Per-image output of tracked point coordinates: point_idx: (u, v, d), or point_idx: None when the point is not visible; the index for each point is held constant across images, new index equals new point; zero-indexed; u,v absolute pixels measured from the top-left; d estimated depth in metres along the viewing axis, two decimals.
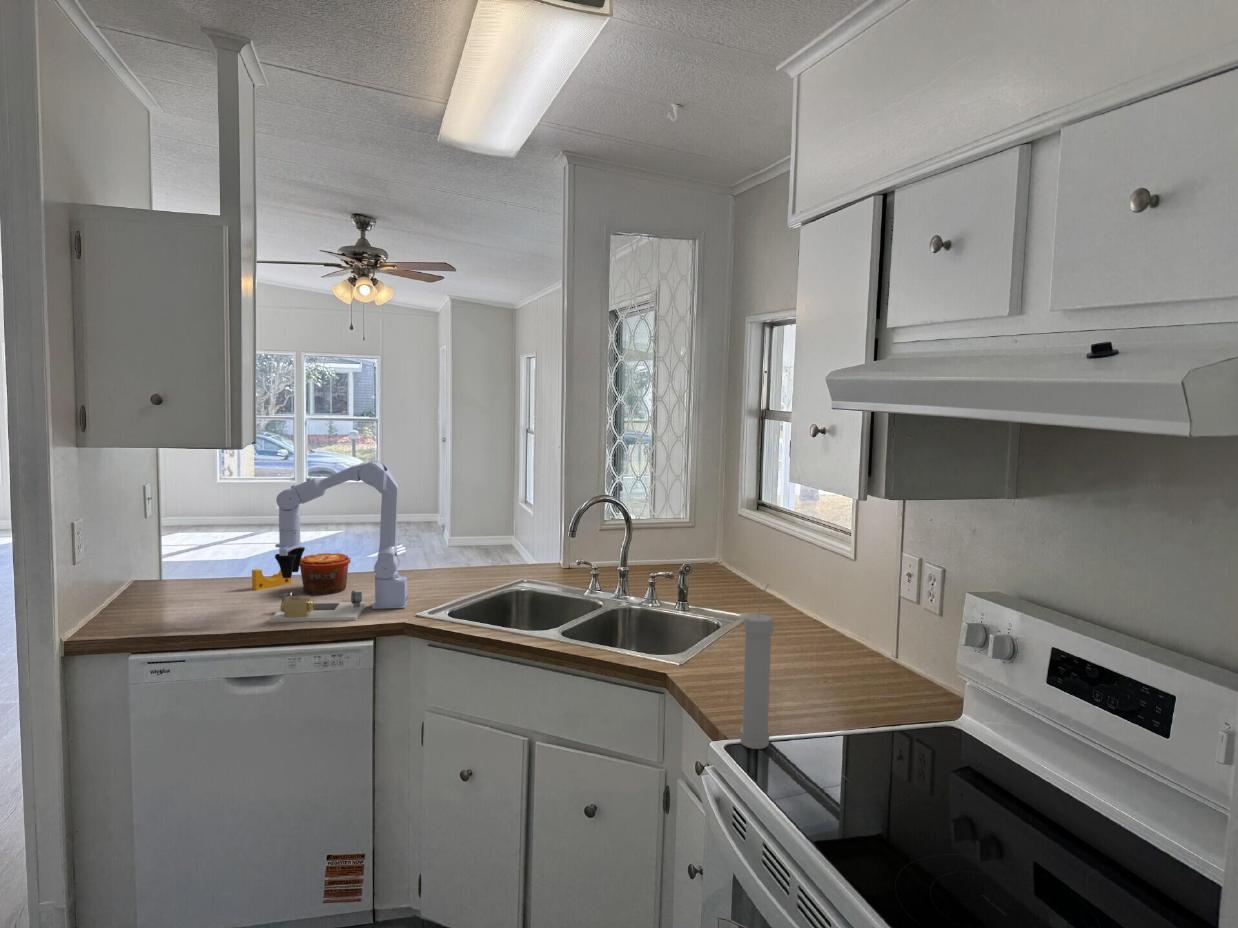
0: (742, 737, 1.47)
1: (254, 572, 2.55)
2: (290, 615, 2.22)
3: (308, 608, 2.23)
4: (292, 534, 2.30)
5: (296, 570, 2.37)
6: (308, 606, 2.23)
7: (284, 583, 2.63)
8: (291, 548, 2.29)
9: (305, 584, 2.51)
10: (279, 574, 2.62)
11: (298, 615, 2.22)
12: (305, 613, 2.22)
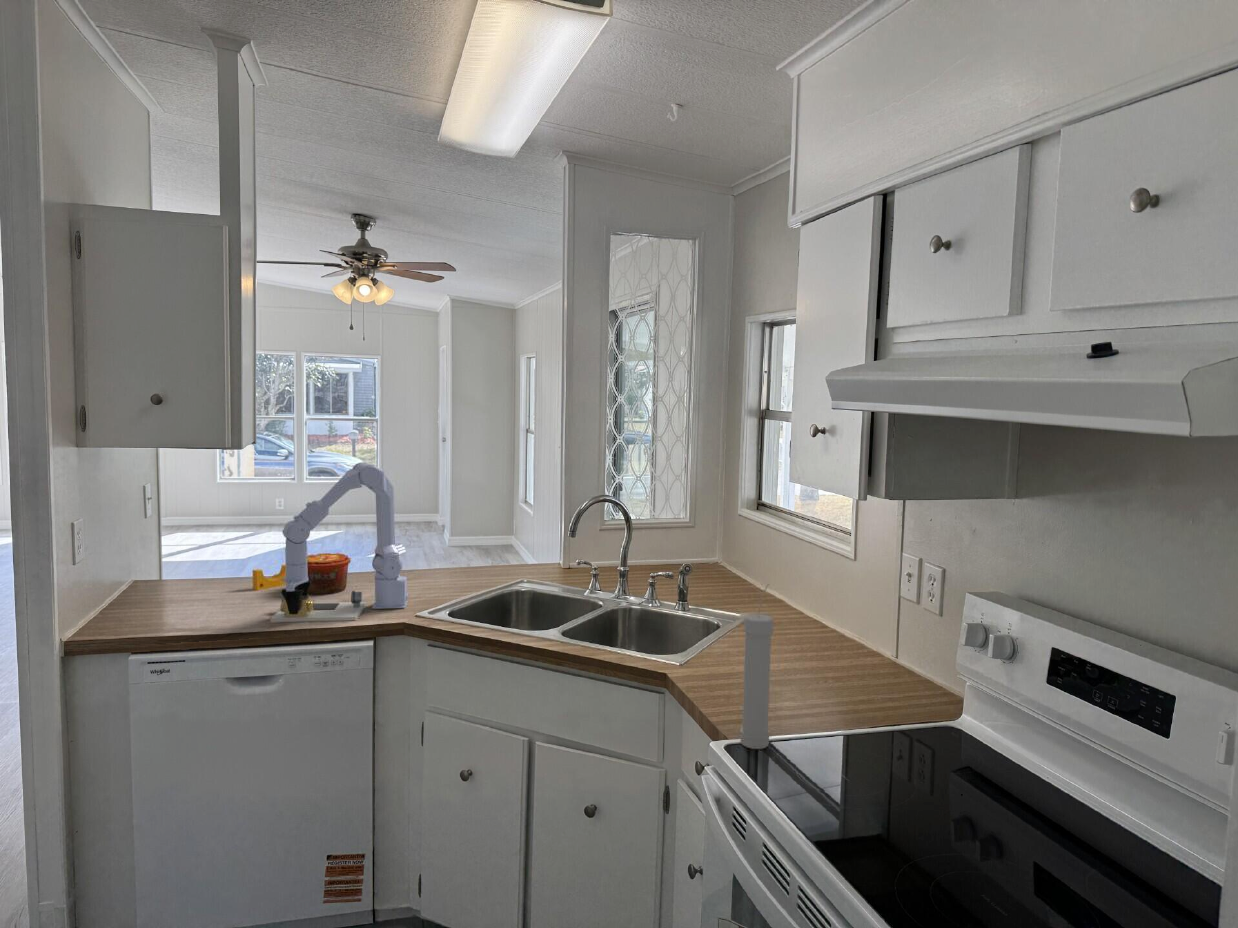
0: (742, 737, 1.47)
1: (255, 572, 2.55)
2: (290, 615, 2.22)
3: (308, 608, 2.23)
4: (299, 568, 2.21)
5: None
6: (308, 606, 2.23)
7: (285, 583, 2.62)
8: (298, 583, 2.19)
9: None
10: (280, 574, 2.62)
11: (298, 615, 2.22)
12: (305, 613, 2.22)
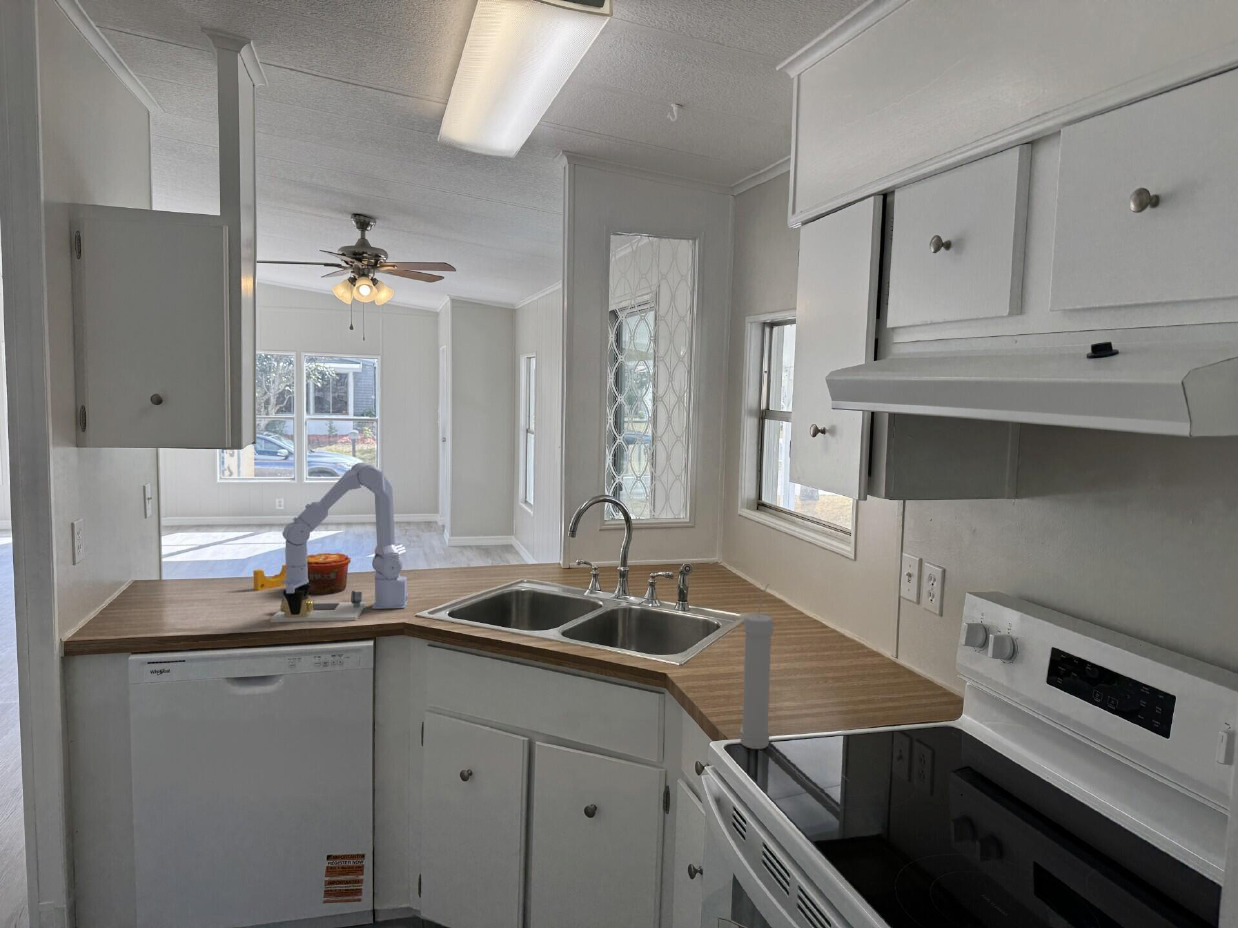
0: (742, 737, 1.47)
1: (256, 572, 2.54)
2: (290, 615, 2.22)
3: (308, 608, 2.23)
4: (299, 570, 2.21)
5: None
6: (308, 606, 2.23)
7: None
8: (298, 585, 2.19)
9: None
10: (280, 574, 2.62)
11: (298, 615, 2.22)
12: (305, 613, 2.22)
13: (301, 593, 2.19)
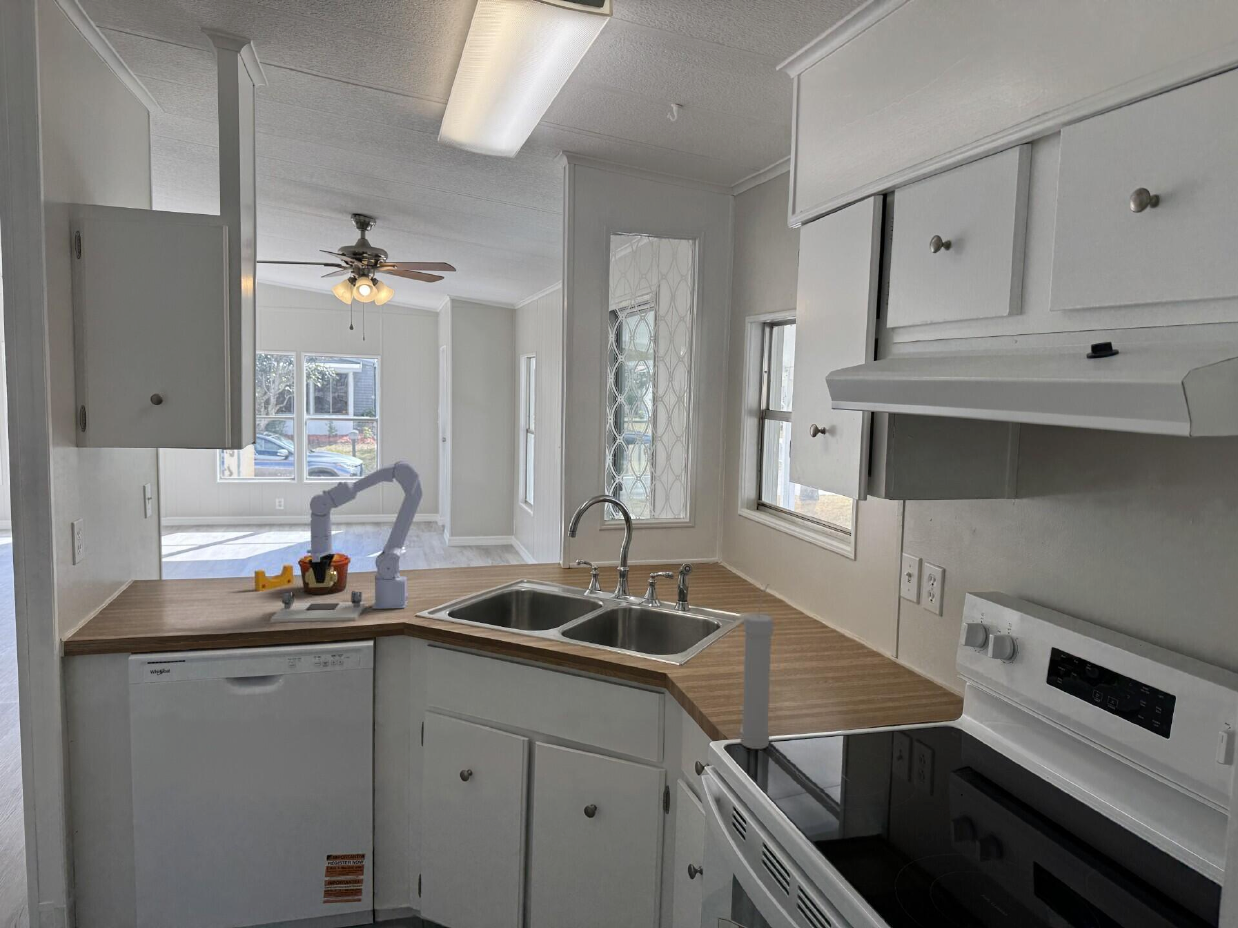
0: (742, 737, 1.47)
1: (257, 573, 2.54)
2: (314, 585, 2.29)
3: (332, 578, 2.31)
4: (324, 540, 2.28)
5: None
6: (332, 576, 2.31)
7: (286, 584, 2.62)
8: (323, 554, 2.27)
9: (305, 584, 2.51)
10: (281, 575, 2.61)
11: (322, 585, 2.30)
12: (329, 583, 2.30)
13: (326, 562, 2.27)
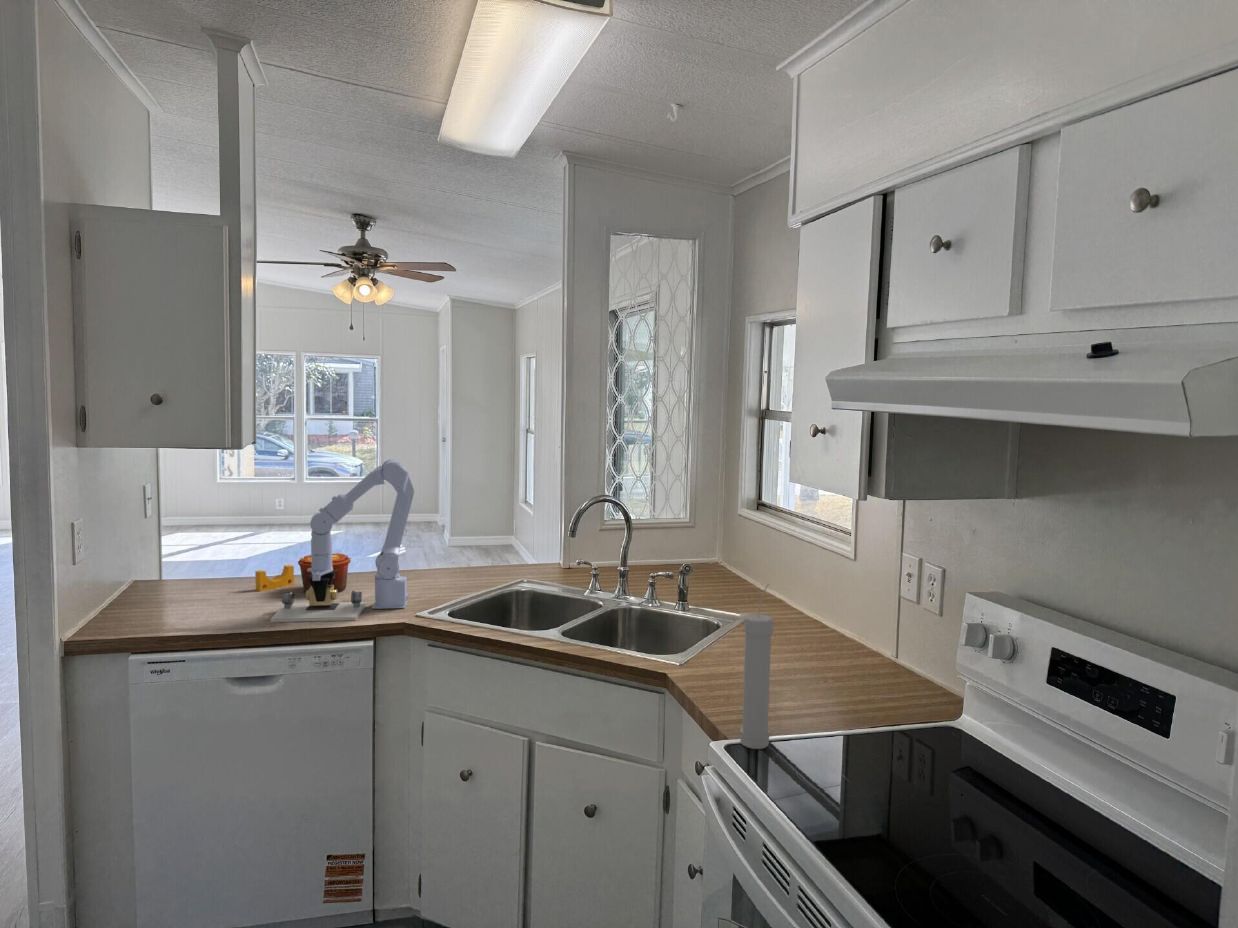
0: (742, 737, 1.47)
1: (258, 573, 2.53)
2: (315, 603, 2.30)
3: (332, 596, 2.31)
4: (324, 558, 2.29)
5: None
6: (332, 594, 2.31)
7: (287, 584, 2.61)
8: (324, 573, 2.27)
9: (305, 584, 2.51)
10: (282, 575, 2.61)
11: (322, 603, 2.30)
12: (329, 601, 2.31)
13: (326, 581, 2.28)
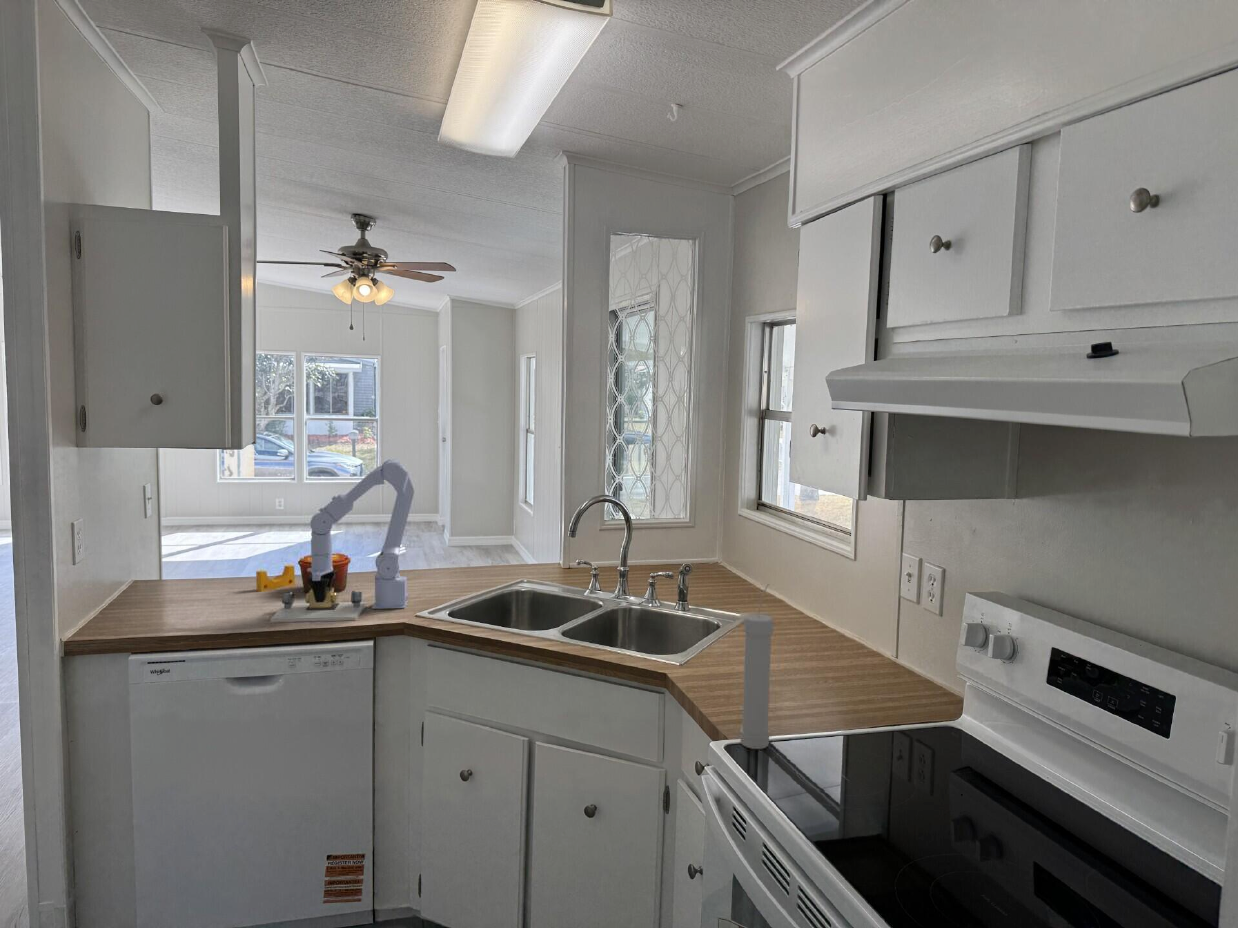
0: (742, 737, 1.47)
1: (259, 573, 2.53)
2: (315, 606, 2.30)
3: (332, 599, 2.31)
4: (324, 558, 2.29)
5: None
6: (332, 597, 2.31)
7: (288, 584, 2.61)
8: (324, 573, 2.27)
9: (305, 584, 2.51)
10: (283, 575, 2.61)
11: (322, 606, 2.30)
12: (329, 604, 2.31)
13: (326, 581, 2.27)
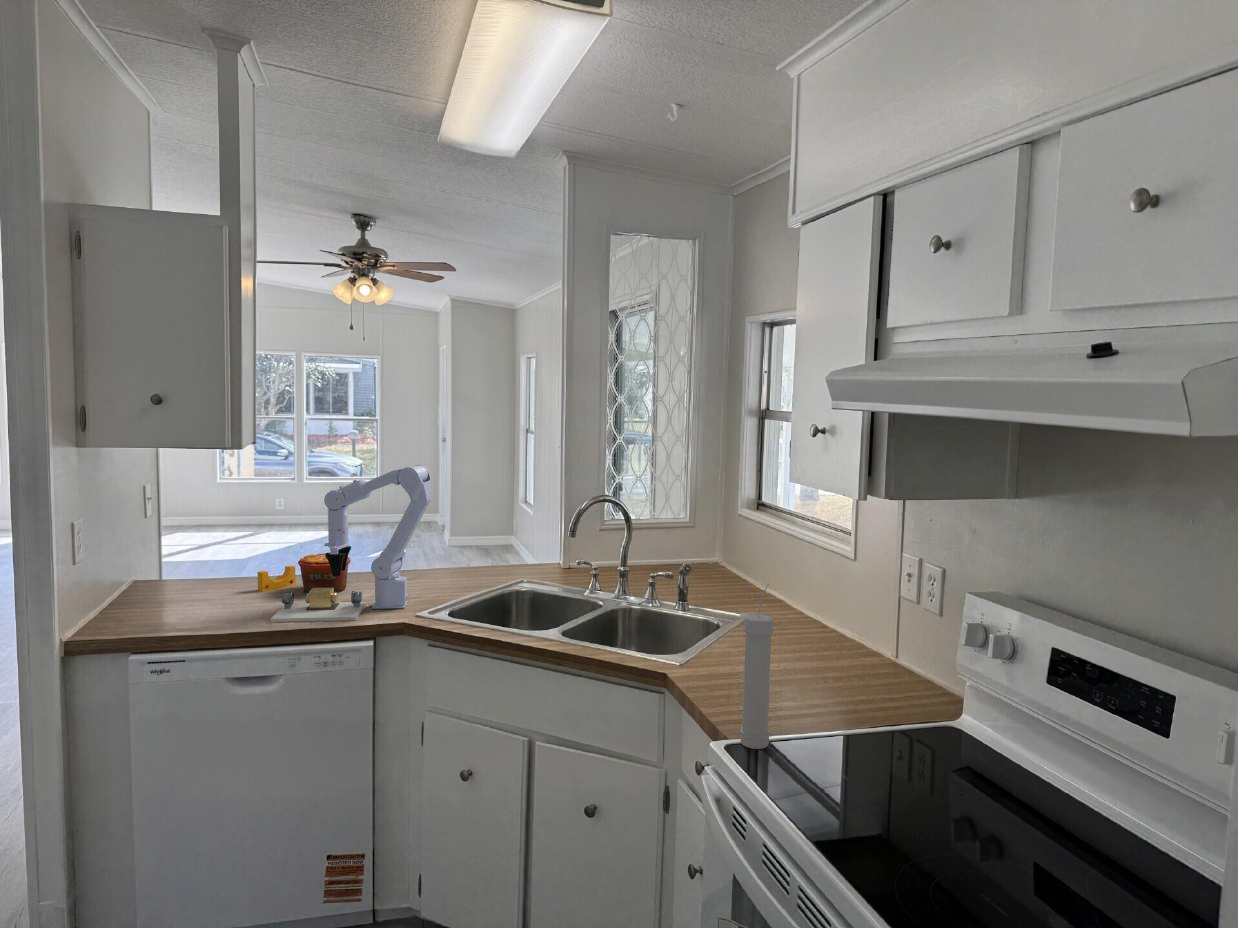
0: (742, 737, 1.47)
1: (260, 574, 2.53)
2: (315, 606, 2.30)
3: (332, 599, 2.31)
4: (341, 533, 2.37)
5: (343, 568, 2.43)
6: (332, 597, 2.31)
7: (289, 584, 2.61)
8: (341, 547, 2.35)
9: (305, 584, 2.51)
10: (284, 575, 2.61)
11: (322, 606, 2.30)
12: (329, 604, 2.31)
13: (342, 555, 2.34)
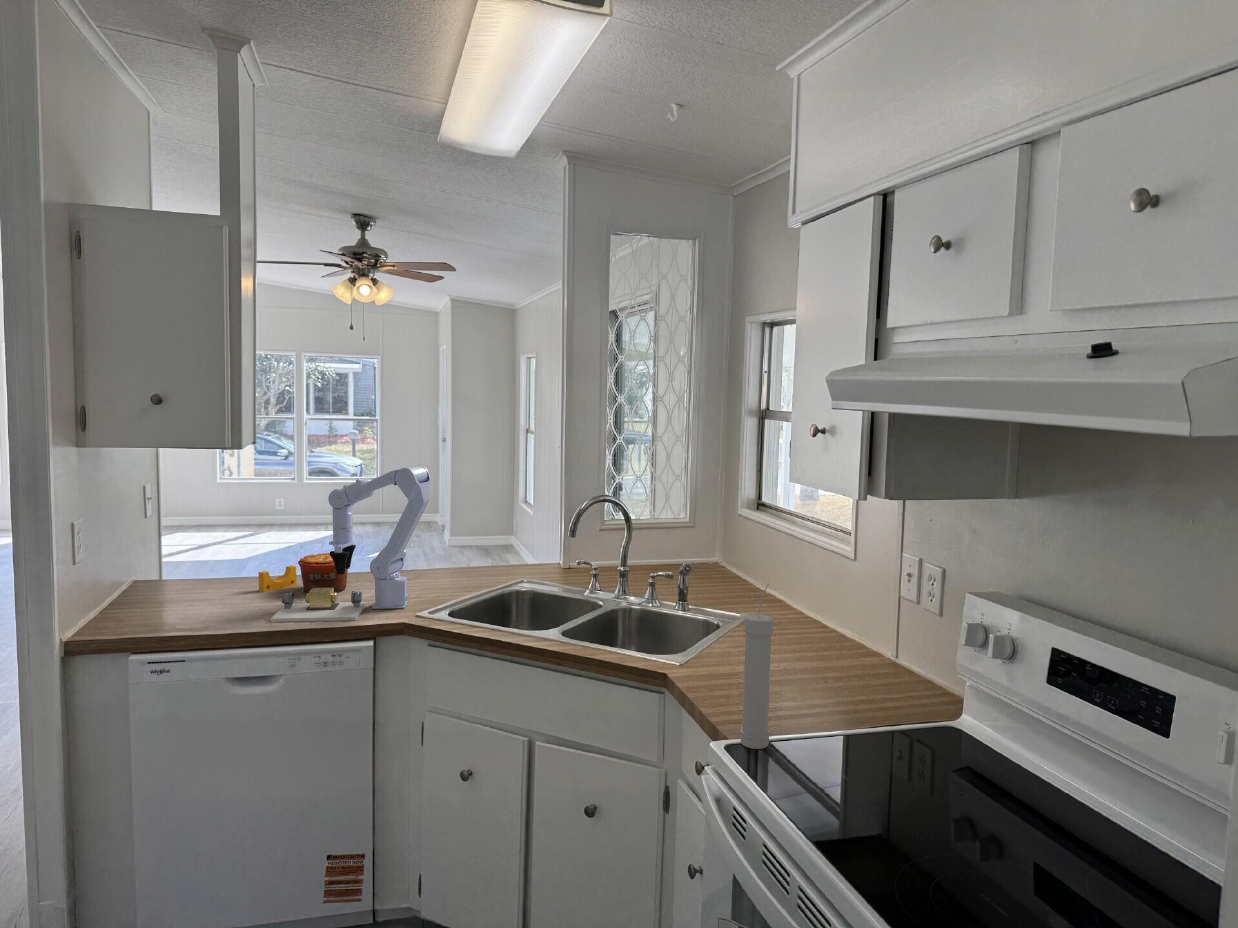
0: (742, 737, 1.47)
1: (261, 574, 2.52)
2: (315, 606, 2.30)
3: (332, 599, 2.31)
4: (345, 532, 2.39)
5: (348, 567, 2.46)
6: (332, 597, 2.31)
7: (290, 585, 2.60)
8: (345, 545, 2.37)
9: (305, 584, 2.51)
10: (285, 576, 2.60)
11: (322, 606, 2.30)
12: (329, 604, 2.31)
13: (347, 554, 2.36)
